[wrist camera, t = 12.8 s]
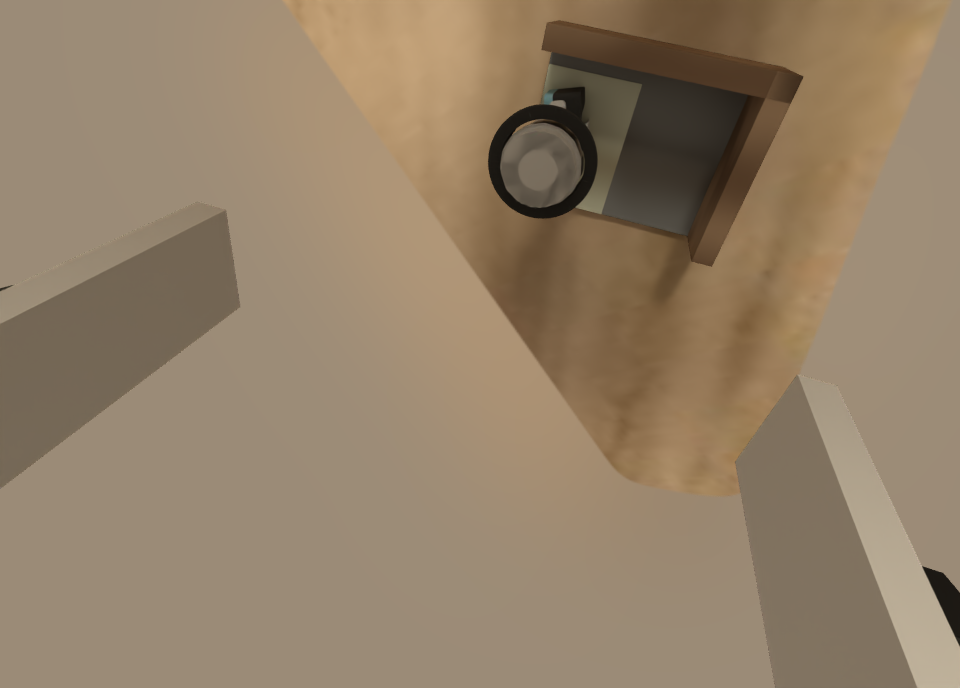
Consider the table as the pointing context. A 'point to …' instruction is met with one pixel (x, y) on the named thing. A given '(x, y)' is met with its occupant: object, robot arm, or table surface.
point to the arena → (670, 128)
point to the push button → (545, 156)
